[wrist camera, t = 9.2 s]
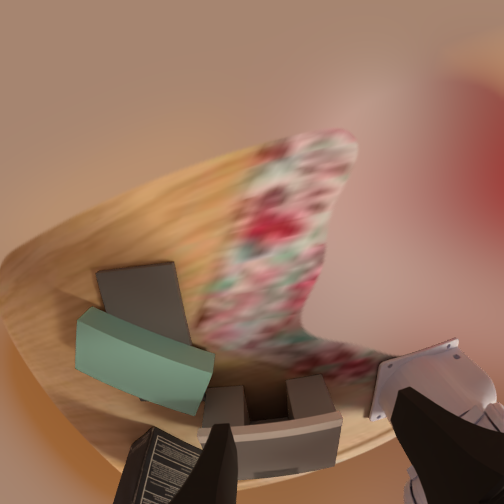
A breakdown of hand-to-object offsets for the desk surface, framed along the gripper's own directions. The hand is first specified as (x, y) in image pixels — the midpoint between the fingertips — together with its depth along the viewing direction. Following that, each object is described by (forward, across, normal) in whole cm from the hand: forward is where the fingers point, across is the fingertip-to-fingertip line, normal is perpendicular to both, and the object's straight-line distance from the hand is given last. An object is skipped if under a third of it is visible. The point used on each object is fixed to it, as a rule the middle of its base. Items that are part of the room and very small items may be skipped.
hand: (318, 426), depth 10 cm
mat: (+10, +10, +1) cm, 14 cm away
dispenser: (+10, +2, +9) cm, 14 cm away
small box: (+11, +12, +17) cm, 23 cm away
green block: (+9, +10, 0) cm, 13 cm away
